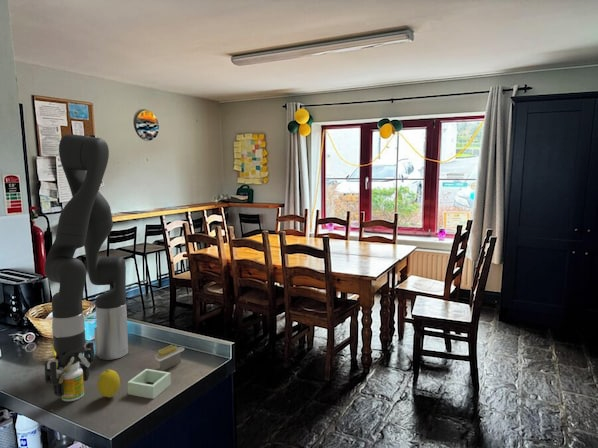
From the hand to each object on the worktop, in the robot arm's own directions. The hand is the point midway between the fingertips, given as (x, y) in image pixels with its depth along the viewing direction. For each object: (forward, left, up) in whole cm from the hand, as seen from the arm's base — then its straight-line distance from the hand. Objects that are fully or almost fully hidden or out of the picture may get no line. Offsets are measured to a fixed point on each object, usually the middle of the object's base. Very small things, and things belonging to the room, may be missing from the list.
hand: (72, 387), depth 111 cm
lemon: (+10, +3, -3) cm, 10 cm away
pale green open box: (+17, +10, -3) cm, 20 cm away
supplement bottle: (0, 0, -3) cm, 3 cm away
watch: (-23, +18, -3) cm, 29 cm away
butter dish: (+15, +23, -3) cm, 28 cm away
